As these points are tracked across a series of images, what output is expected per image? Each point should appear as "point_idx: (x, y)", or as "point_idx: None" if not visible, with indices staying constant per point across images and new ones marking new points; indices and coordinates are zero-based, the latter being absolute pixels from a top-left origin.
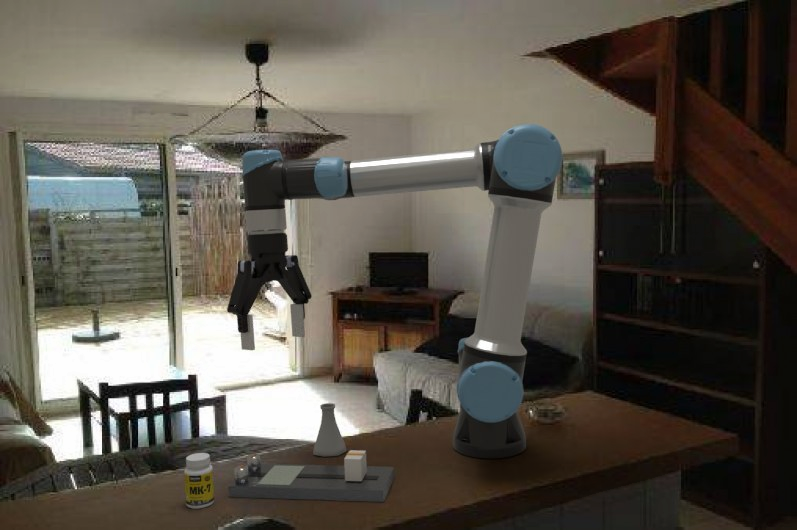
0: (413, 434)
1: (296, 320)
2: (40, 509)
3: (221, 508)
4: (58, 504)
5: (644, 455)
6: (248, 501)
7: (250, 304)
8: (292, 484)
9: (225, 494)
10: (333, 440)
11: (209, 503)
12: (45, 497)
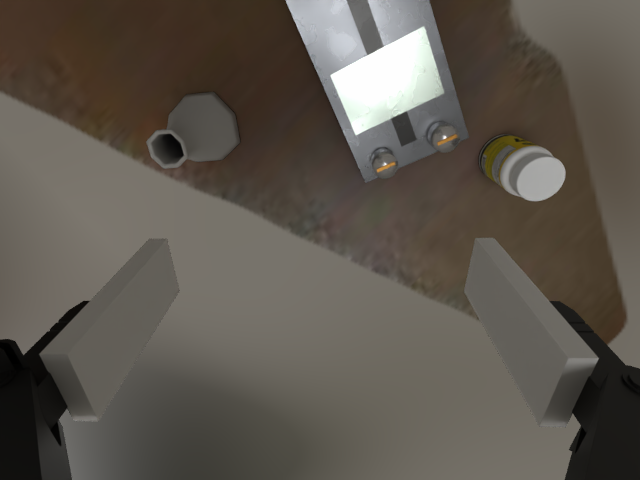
0: (7, 27)
1: (136, 314)
2: None
3: (506, 107)
4: None
5: None
6: (465, 87)
7: (630, 432)
8: (417, 24)
9: (455, 148)
10: (205, 109)
11: (506, 134)
12: None
